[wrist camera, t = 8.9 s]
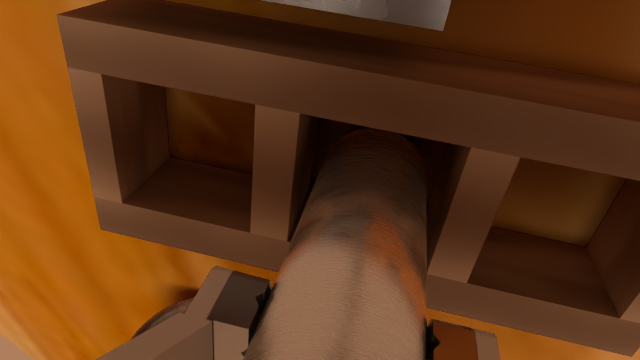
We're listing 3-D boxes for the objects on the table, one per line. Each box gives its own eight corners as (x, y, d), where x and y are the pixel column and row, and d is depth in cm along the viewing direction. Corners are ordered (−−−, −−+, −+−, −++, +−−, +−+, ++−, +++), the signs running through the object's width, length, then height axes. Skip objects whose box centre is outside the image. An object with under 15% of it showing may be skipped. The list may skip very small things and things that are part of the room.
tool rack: (127, -6, 17) (56, 14, 14) (718, 98, 15) (802, 152, 12) (149, 181, 22) (100, 229, 19) (597, 282, 20) (631, 356, 17)
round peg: (330, 118, 16) (204, 393, 7) (438, 139, 16) (457, 462, 7) (317, 204, 18) (209, 500, 9) (412, 225, 18) (398, 558, 9)
